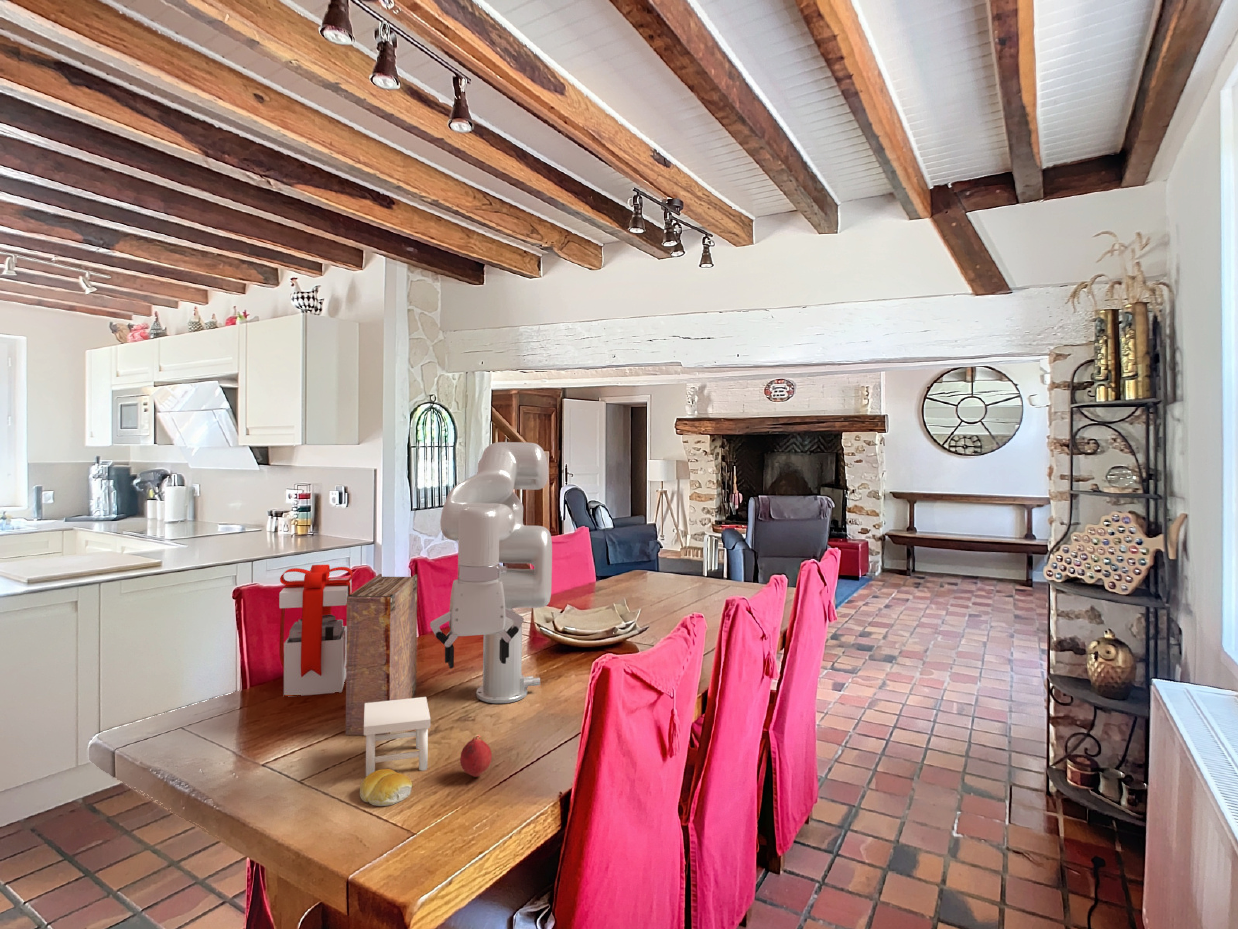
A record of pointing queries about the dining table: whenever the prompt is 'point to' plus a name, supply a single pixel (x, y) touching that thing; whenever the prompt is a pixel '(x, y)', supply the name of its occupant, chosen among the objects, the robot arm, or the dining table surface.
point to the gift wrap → (314, 632)
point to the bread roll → (385, 787)
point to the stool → (397, 728)
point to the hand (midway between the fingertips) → (477, 664)
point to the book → (380, 645)
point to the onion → (475, 756)
